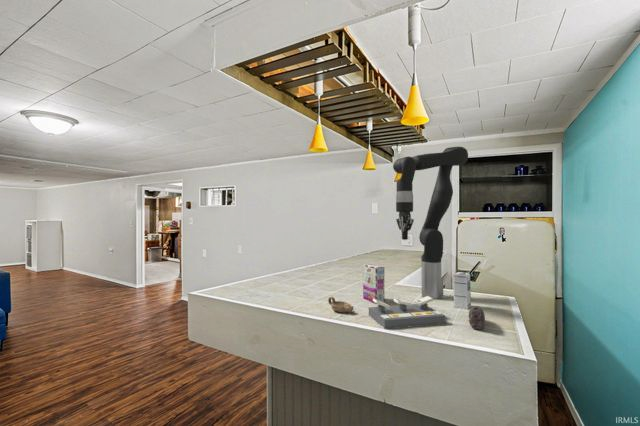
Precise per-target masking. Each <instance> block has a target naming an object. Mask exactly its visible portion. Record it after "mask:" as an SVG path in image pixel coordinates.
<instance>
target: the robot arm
mask: <svg viewBox="0 0 640 426" xmlns="http://www.w3.org/2000/svg"><path fill="white" fill-rule="evenodd" d="M468 158H469V152H468V149H466V148H465V147H464V146H450V147H446V148H445V149H444V150H443V151H442V152H435V153H434V152H431V153H423V154H417V155H414V156H405V157H401V158H398V159H397V158H396V160H395V161H394V162H393V165H392V167H393V170H394V172H395V173H397V174H399V175H400V174H401V176H400V177H399V178H398V179H397V180H396V192H395V193H396V195H395V212H396V213H398V218H396V219H395V220H396V225H397V227H398V229H399V230H400V231H401V240H403V241H407V240H408V239H409V235H408V234H409V233H408V232H409V231H410V230H411V229H412V227H413V223H414V219H413V218H412V216H411V215H412V214H411V213H413V212H414V194H413V181H414V178H415V173H416V171H424V170H429V169H433V168H438V173H437V177H436V181H435V184H434V188H433V191H432V195H431V198H430V203H429V206H428V210H427V212H426V213H427V214H426V218H425V220H424V223H423V225H422V227H421V230H420V233H419V236H418V237H419V242H420V244H421V245H422V246H423V254H422V255H421V297H422V298H424V297H426V296H429V297H431V298H433V300H434V299H441V298H444V278H443V277H442V258H443V254H444V236H443V234H442V232H441V231H440V230H439V226H440V224H441V221H442V219H443V217H444V215H445V214H446V213H447V212H448V209H449V207H450V205H451V203H452V199H453V195H454V190H453V184H452V180H451V173H452V169H453V167H454V166H455V167H457V166H458V167H459V166H462V165H464V164H465V163H467V161H468V160H469V159H468Z"/></svg>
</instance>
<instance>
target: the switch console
mask: <svg viewBox="0 0 640 426" xmlns="http://www.w3.org/2000/svg"><path fill="white" fill-rule="evenodd" d="M389 306H390V309H388V308H386V307H384V306H381V305H379V304H377V306H372V307H371V306H370V307H368V315H369V317H371V318H372V319H373V320H374V321H375V322H376V323H377V322H378V323H377V324H379V326H381V327H382V326H383V327H384V328H387V329H395V328H394V327H399V328H407V327H408V326H411V327H422V326H423V327H424V326H433V325H442V324H443V325H444V324H445V325H446V315H445V314H443V313H441V312H439V311H438V310H436V309H434V308H432V307H430V306H428V303H426V304H423V305H420V306H419V305H417V304H416V303H412V306H410V305H404V304H399V305H389ZM383 327H382V328H383ZM384 328H383V329H384Z"/></svg>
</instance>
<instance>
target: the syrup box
mask: <svg viewBox="0 0 640 426" xmlns="http://www.w3.org/2000/svg"><path fill="white" fill-rule="evenodd" d="M452 276H453V278H452V279H453V281H452V282H453V307H454V308H459V309H466V310H468V309H469V308H471V307H472V303H471V302H472V300H471V298H472V296H471V295H472V294H471V291H472V290H471V273H469V272H462V271H461V272H460V271H459V272H456V273H454V274H453V275H452Z"/></svg>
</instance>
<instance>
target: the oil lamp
mask: <svg viewBox="0 0 640 426" xmlns="http://www.w3.org/2000/svg"><path fill="white" fill-rule="evenodd" d="M327 301H328V304H329V305H330V306H331V309H332V310H333V311H335V312H338V313H351V312H353V310H354V308H355V306H354V305H351V304H349V302H346V301H340V300H338V301H337V300H336V299H335V298H334V297H333V296H330V297H328V300H327Z"/></svg>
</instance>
